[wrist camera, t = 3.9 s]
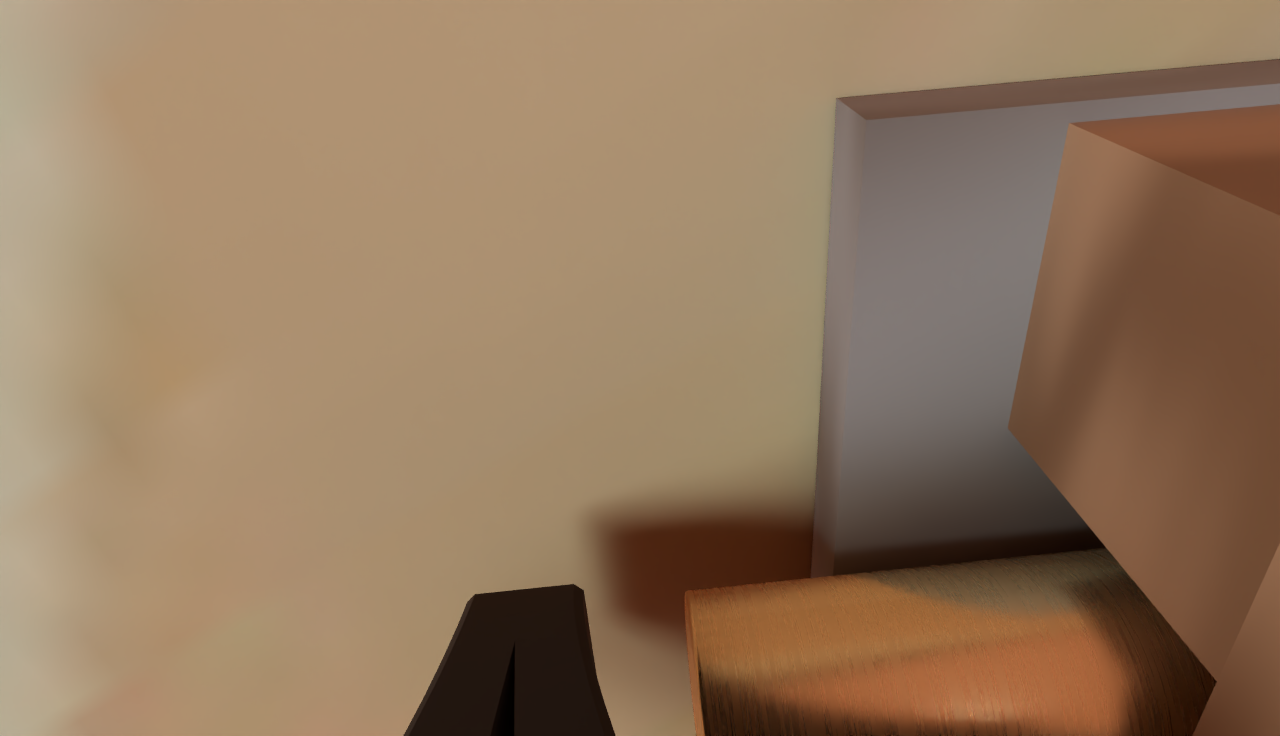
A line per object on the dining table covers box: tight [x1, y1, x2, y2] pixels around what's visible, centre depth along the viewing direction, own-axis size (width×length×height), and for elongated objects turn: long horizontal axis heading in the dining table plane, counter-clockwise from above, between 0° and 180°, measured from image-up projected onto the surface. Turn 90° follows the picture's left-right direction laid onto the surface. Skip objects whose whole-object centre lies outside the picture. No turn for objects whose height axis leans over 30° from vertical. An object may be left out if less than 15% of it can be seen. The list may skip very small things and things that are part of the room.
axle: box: [685, 548, 1217, 736], centre depth 10 cm, size 3×14×3 cm, turn 94°
